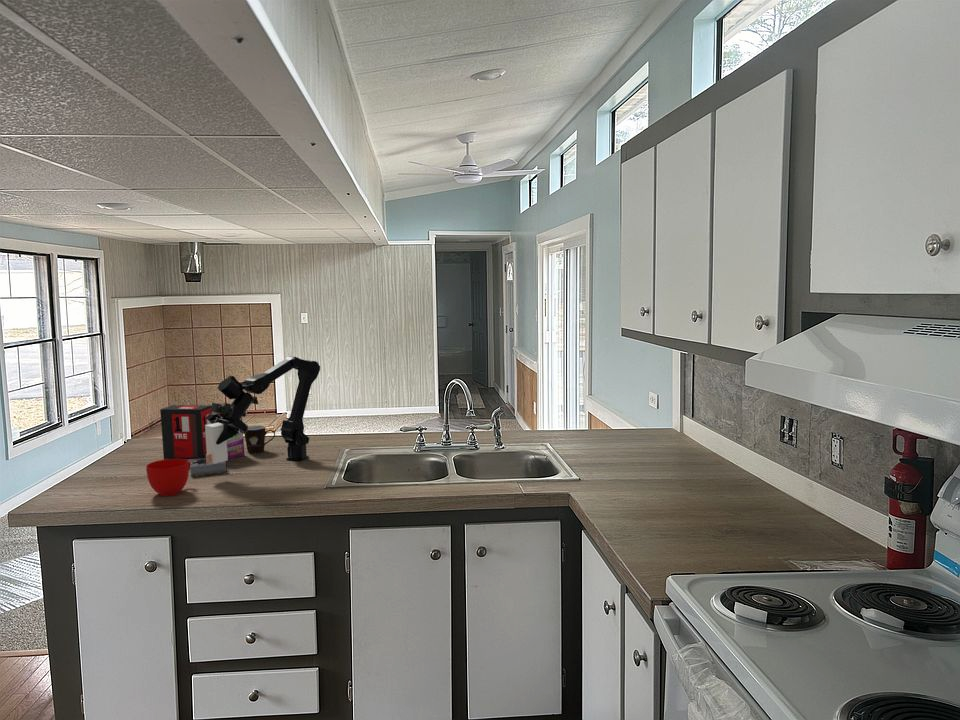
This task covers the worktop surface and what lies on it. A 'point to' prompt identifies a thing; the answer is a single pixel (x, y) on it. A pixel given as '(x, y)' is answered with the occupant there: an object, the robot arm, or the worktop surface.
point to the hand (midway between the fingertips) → (212, 442)
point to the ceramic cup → (168, 475)
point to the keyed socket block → (205, 467)
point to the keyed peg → (213, 450)
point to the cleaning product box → (184, 431)
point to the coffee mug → (256, 438)
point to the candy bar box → (235, 445)
